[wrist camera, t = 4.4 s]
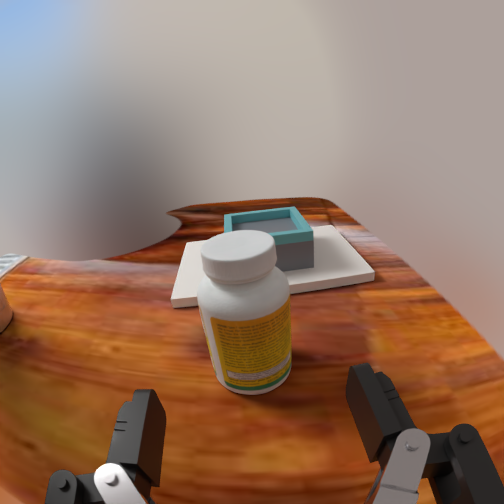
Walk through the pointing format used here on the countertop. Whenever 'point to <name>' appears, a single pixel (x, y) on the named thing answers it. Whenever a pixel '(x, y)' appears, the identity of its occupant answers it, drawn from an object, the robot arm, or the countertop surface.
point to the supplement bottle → (245, 311)
